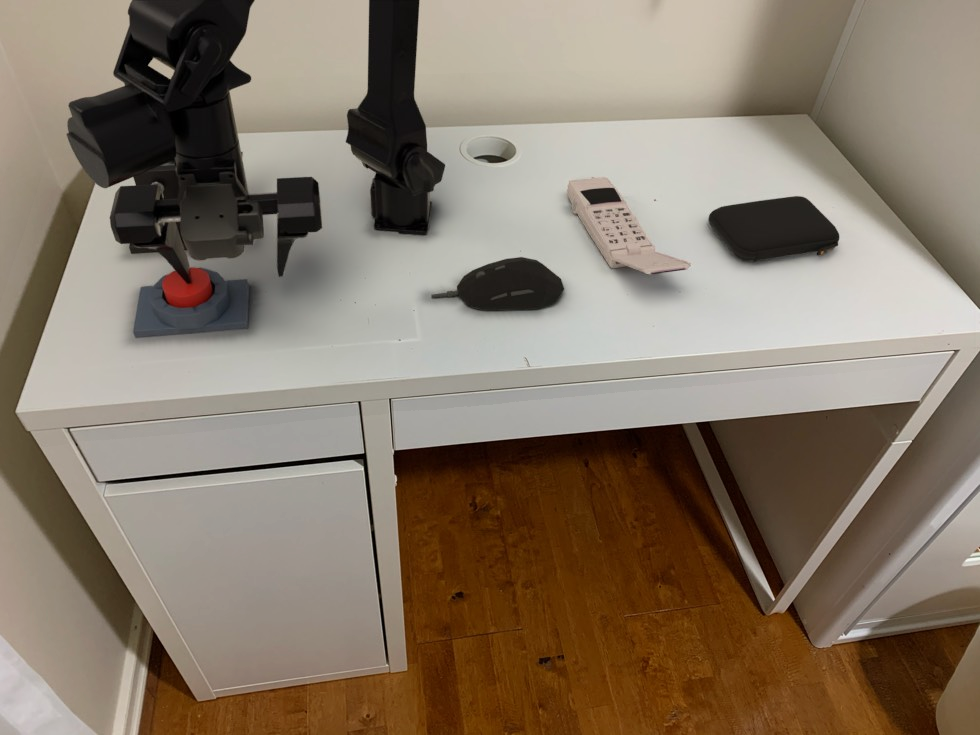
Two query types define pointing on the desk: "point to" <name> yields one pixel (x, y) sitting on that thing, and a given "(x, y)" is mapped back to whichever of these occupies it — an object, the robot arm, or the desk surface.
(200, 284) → the red button
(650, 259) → the mobile phone
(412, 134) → the robot arm
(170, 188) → the lever bracket
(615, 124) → the desk surface
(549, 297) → the gaming mouse
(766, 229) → the carrying case
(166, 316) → the button box
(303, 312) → the desk surface
